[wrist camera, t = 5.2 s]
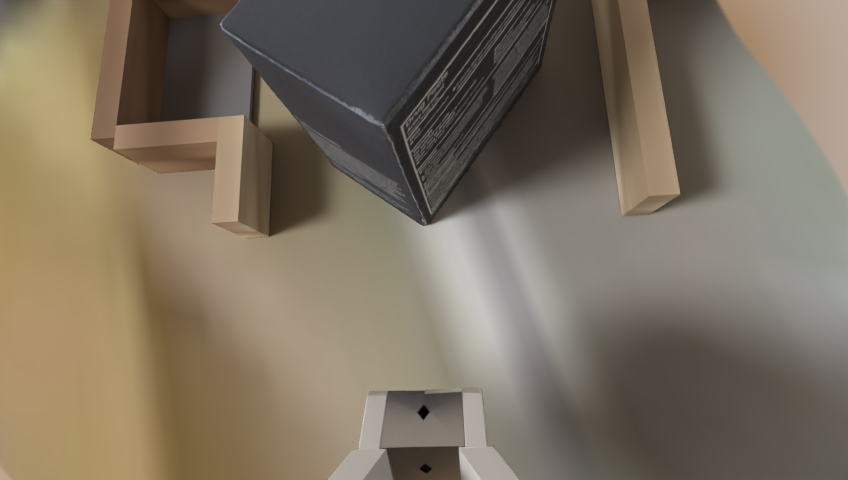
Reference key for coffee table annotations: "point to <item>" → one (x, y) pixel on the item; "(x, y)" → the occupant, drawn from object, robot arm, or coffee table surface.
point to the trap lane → (252, 151)
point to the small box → (396, 82)
